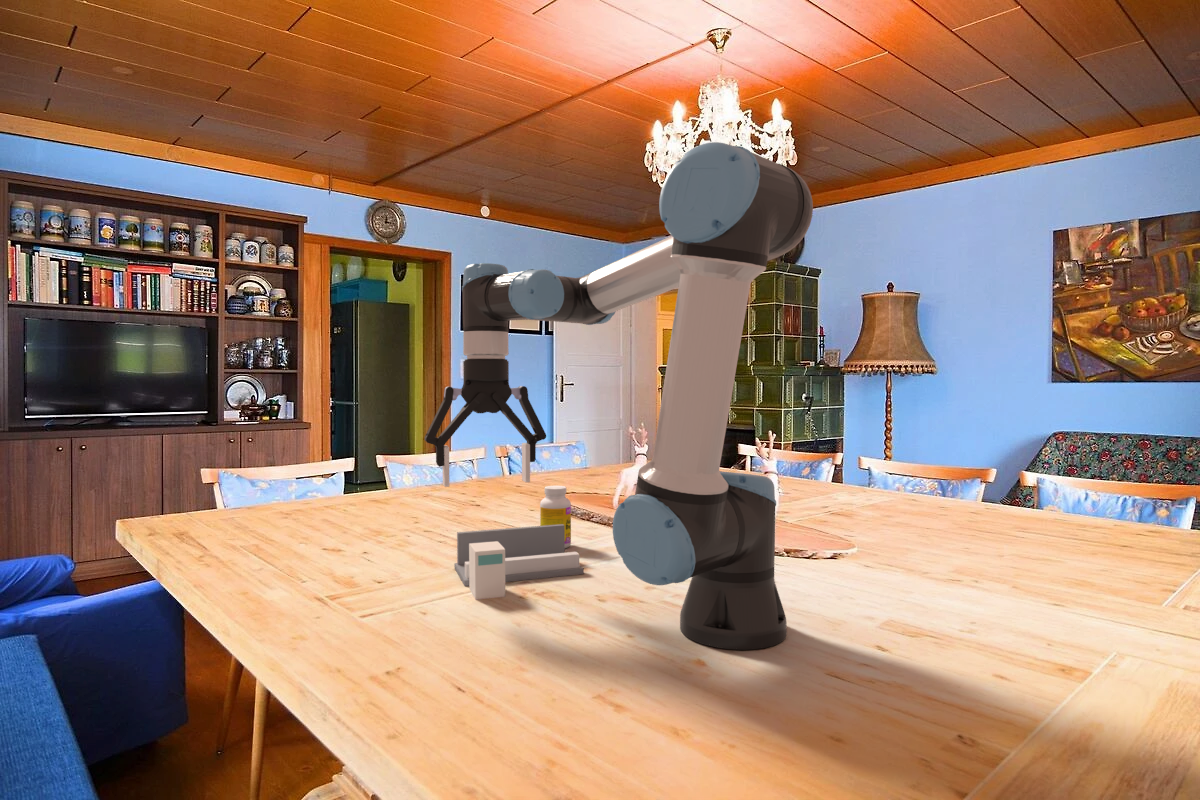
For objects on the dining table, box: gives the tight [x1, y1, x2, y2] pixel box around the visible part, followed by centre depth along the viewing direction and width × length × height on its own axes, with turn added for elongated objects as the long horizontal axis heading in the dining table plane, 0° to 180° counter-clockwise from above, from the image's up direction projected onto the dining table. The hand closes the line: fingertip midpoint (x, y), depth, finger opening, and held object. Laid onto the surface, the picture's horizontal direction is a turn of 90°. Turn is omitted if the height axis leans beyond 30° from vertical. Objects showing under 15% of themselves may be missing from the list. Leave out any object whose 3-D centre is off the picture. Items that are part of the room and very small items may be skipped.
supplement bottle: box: [539, 485, 572, 549], centre depth 153 cm, size 7×7×13 cm
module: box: [468, 541, 506, 600], centre depth 121 cm, size 6×5×8 cm
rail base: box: [453, 524, 585, 587], centre depth 134 cm, size 12×22×7 cm, turn 110°
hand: (486, 483), depth 121 cm, fingers open, 13 cm apart
